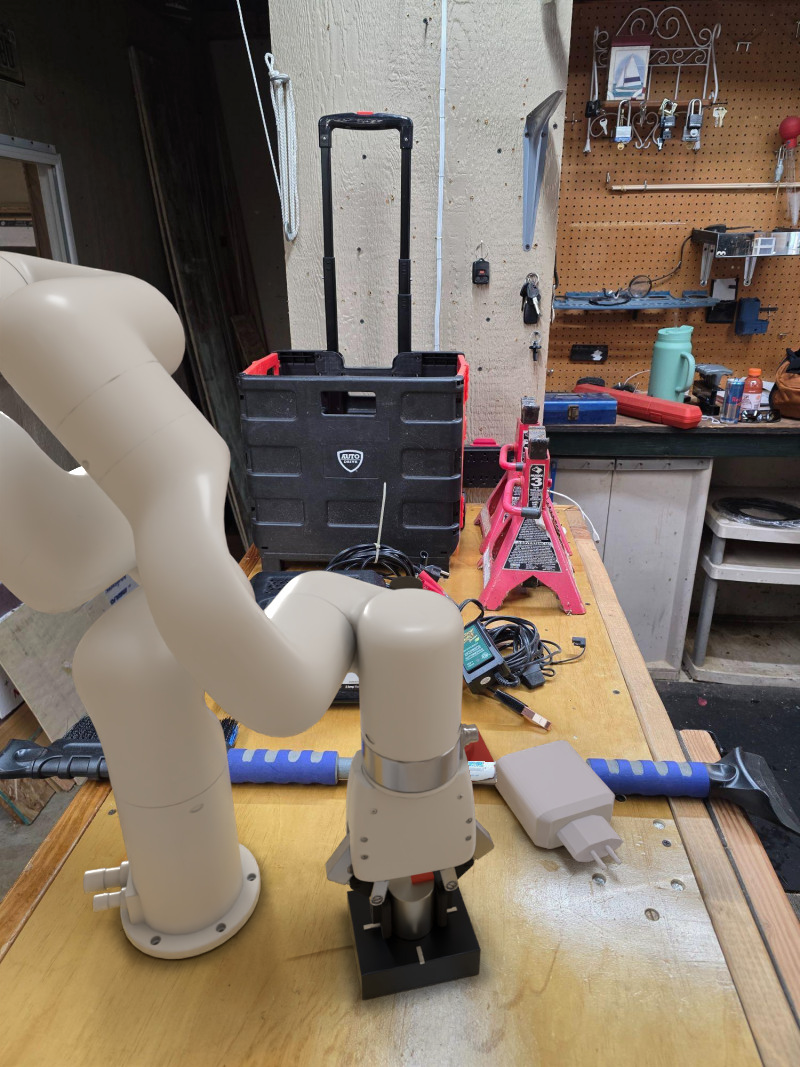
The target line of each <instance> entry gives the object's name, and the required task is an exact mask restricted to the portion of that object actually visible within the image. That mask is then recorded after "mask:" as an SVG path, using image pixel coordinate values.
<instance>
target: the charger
mask: <svg viewBox="0 0 800 1067" xmlns="http://www.w3.org/2000/svg"><path fill="white" fill-rule="evenodd" d="M496 772H497V773H496ZM495 774H497V782H496V784H495V783H494V786H495V788H496V789H497V791H498V793H499V794H500V795H501V797H502V798H503V799H504V801H505V803H506V804H507V806H508V807H509V808H510V810H511V811H512V813H513V814H514V816H515V817H516V819H517V820H518V821H519V823H520V825H521V826H522V828H523V829H524V831H525V832H526V834H527V835H528V837H529V838H530V839H531V841H532V842H533V844H534V845H535V846H537V847H540V848H546V849H548V850H549V849H550V850H552V849H556V848H559V847H562V846H564V847H565V849H566V850H567V852H569V854H570V855H571V857H572V858H573V859H574V860H575V861H577V862H581V863H590V862H593V861H595V863H596V864H597V865H598V866H599V868H600V869H601V870H602V871H606V870H607V869H608V867H607V866H606V864H605V863H604V861H603V860H602V858H605V857H608V856H610V857H611V859H612V860H613V861H614V862H615V864H617V866H621V865H622V863H623V861H622V860H621V859H620V858H619V856H618V855H617V854H616V852H615V851H616V850H618V849H619V848H620V847H621V846H622V845H623V843H624V840H623V838H622V837H621V836H620V835H619V834H618V833H617V832H616V830H615V829H614V828H613V827H612V825H611V823H612V818H613V813H614V812H613V811H614V806H615V798H616V795H615V793H614V792H613V791H612V790H611V789H610V787H608V785H607V784H606V783H605V782H604V781H603V780H602V778H600V776H599V775H598V774H597V773H596V772H595V771H594V769H592V767H591V766H590V765H589V764H588V763H587V762H586V761H585V759H584V758H583V757H582V756H581V754H579V752H578V751H576V749H575V748H574V747H573V746H572V745H571V743H570V742H568V741H567V740H564V739H560V740H554V741H551V742H547V743H544V744H539V745H536V746H532V747H528V748H525V749H522V750H517V751H514V752H510V753H507V754H504V755H503V756H501V757H500V758H498V759H497V761H496V762H495Z"/></svg>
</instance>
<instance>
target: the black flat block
mask: <svg viewBox="0 0 800 1067" xmlns="http://www.w3.org/2000/svg"><path fill="white" fill-rule="evenodd" d="M346 902H347V903H346V904H347V917H348V923H349V928H350V929H349V930H350V935H351V941H352V947H353V952H354V960H355V964H356V969H357V970H356V972H357V976H358V983H359V990H360V996H361V1000H362V1001H366V1000H370V999H374V998H378V997H382V996H383V997H384V996H387V995H392V994H396V993H397V994H398V993H400V992H405V991H409V990H415V989H419V988H423V987H427V986H432V985H436V984H440V983H441V984H442V983H445V982H449V981H455V980H459V979H463V978H468V977H472V976H476V975H480V966H481V952H482V951H481V950H482V949H481V947H480V944H479V941H478V939H477V935H476V933H475V929H474V926H473V924H472V920H471V918H470V915H469V912H468V909H467V906H466V904H465V900H464V897H463V894H462V892H461V888H460V886H459V885H458V887H457V888H456V889H455V890H453V901H452V909H447V926H444V927H440V926H438V925H437V921H436V918H435V914H434V923H433V926H432V928H431V930H430V931H429V933H428V934H426V935H425V936H424V937H422V938H419V939H416V940H407V939H403V938H400V937H398V936H397V935H396V934H394V933H393V931H392V936H390V938H387V939H383V935H382V931H381V926H380V923H378V924H373V922H372V917H371V911H370V899H369V898H368V897H366V896H364V895H362V894H360V893H358V892H356V891H354V890H352V889H351V890H347V891H346Z"/></svg>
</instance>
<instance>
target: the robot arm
mask: <svg viewBox="0 0 800 1067" xmlns="http://www.w3.org/2000/svg"><path fill="white" fill-rule="evenodd" d="M185 349H186V335H185V330H184V327H183V323H182V320H181V319H180V316H179V314H178V313H177V311H176V309H175V307H174V306H173V304H172V303H171V302H170V300H168V298H167V297H166V296H165V295H164V294H163V293H162V292H161V291H160V290H158V289H157V288H156V287H155V286H153V285H152V284H150V283H148V282H147V281H145V280H144V279H141V278H138V277H136V276H134V275H130V274H127V273H122V272H117V271H112V270H106V269H100V268H95V267H89V266H83V265H79V264H74V263H68V262H64V261H63V262H62V261H60V260H59V261H58V260H52V259H49V258H43V257H38V256H33V255H28V254H23V253H18V252H11V251H5V250H0V374H1V376H2V377H3V378H4V380H6V382H7V383H8V384H9V385H10V387H12V388H13V390H14V391H15V392H16V393H17V395H18V396H19V397H20V399H21V400H23V402H24V403H25V404H26V405H27V406H28V408H30V410H31V411H32V412H33V414H35V415H36V417H37V418H38V419H39V420H40V421H41V422H42V423H43V425H44V426H45V427H46V428H47V429H48V430H49V431H50V432H51V434H52V435H53V436H54V438H56V439H57V440H58V442H60V444H61V445H63V447H64V448H65V450H66V451H68V453H69V454H70V455H71V457H73V459H74V460H75V461H76V462H77V463H78V465H80V467H77V468H75V469H73V470H71V471H67V470H65V469H63V468H62V467H60V466H59V464H57V463H56V462H54V460H53V459H52V458H51V457H50V456H49V455H48V454H46V452H45V451H44V450H43V449H42V448H41V447H40V446H39V445H38V444H37V443H36V441H35V440H34V439H33V438H32V436H31V435H30V434H29V433H28V432H27V431H26V430H25V429H24V428H23V427H22V426H21V425H19V424H18V423H17V422H16V421H15V420H14V419H13V418H11V417H10V416H8V415H7V414H6V413H3V411H1V410H0V583H1V584H2V585H3V586H4V587H5V588H6V589H7V590H8V591H9V592H11V594H13V595H14V596H15V597H16V598H17V599H18V600H19V601H21V602H22V603H23V604H25V605H26V607H29V608H31V609H33V611H34V610H35V611H36V612H40V613H43V614H48V615H57V614H63V613H66V612H70V611H72V610H76V609H77V608H79V607H81V606H83V605H84V604H86V603H88V602H89V601H91V600H92V599H94V598H95V597H97V596H99V595H100V594H101V593H103V592H104V591H106V590H107V589H108V588H110V587H112V586H113V585H114V584H115V583H117V582H119V581H120V580H121V579H122V578H124V577H125V576H126V575H128V576H129V577H130V579H132V580H133V581H134V582H135V583H136V584H137V586H136V587H135V588H133V589H132V590H131V591H130V592H129V593H127V594H126V595H125V596H123V597H122V598H121V599H120V600H118V601H117V602H116V603H115V604H113V605H112V606H111V607H110V608H108V609H107V610H106V611H105V612H104V613H103V614H102V615H101V616H99V617H98V618H97V619H96V620H95V621H94V622H93V623H92V625H91V626H90V627H89V628H88V629H87V630H86V632H85V633H84V635H83V636H82V637H81V639H80V640H79V643H78V644H77V646H76V649H75V651H74V654H73V658H72V663H71V676H72V682H73V685H74V687H75V690H76V693H77V695H78V698H79V700H80V701H81V703H82V705H83V707H84V709H85V711H86V713H87V715H88V716H89V718H90V721H91V722H92V723H91V724H92V725H93V727H94V729H95V732H96V734H97V738H98V740H99V742H100V746H101V749H102V752H103V757H104V760H105V765H106V768H107V772H108V776H109V777H108V778H109V782H110V786H111V789H112V793H113V798H114V803H115V808H116V811H117V816H118V821H119V825H120V830H121V835H122V839H123V844H124V848H125V853H126V857H127V860H123V861H121V862H120V865H119V866H114V867H108V868H107V867H100V868H95V869H89V870H85V871H84V874H83V882H82V887H83V893H84V894H85V895H86V894H91V893H98V892H102V893H98V894H94V895H93V898H92V910H93V912H94V913H96V912H101V911H106V910H110V909H114V908H118V907H120V919H121V920H120V921H121V924H122V928H123V931H124V934H125V936H126V938H127V939H128V940H129V942H130V943H131V945H133V946H134V947H135V948H136V949H138V950H139V951H141V952H142V953H144V954H146V955H149V956H151V957H154V958H159V959H165V960H176V959H177V960H179V959H187V958H192V957H196V956H199V955H201V954H205V953H207V952H210V951H212V950H214V949H215V948H217V947H219V946H221V945H223V944H224V943H225V942H227V941H228V940H230V938H232V937H233V936H235V935H236V934H237V933H238V932H239V931H240V930H241V929H242V927H244V925H245V924H246V923H247V922H248V920H249V919H250V917H251V916H252V914H253V913H254V911H255V908H256V906H257V904H258V902H259V898H260V893H261V881H262V880H261V874H260V868H259V864H258V862H257V859H256V857H255V856H254V855H253V853H252V851H250V850H249V848H247V847H246V846H245V845H243V844H241V843H240V841H239V834H238V827H237V820H236V812H235V805H234V804H235V803H234V796H233V788H232V781H231V774H230V766H229V757H228V753H227V746H226V745H227V744H226V738H225V733H224V729H223V726H222V723H221V721H220V719H219V718H218V716H217V714H216V713H215V712H214V711H213V710H212V709H211V708H210V707H209V706H208V704H207V702H206V698H205V697H206V694H207V695H208V696H209V697H210V699H212V700H213V701H214V702H215V704H216V705H217V706H219V707H220V708H221V709H222V710H223V711H224V712H225V713H226V714H227V715H228V716H230V717H231V718H232V719H233V720H235V721H236V722H238V723H240V724H241V725H242V726H243V727H245V728H247V729H249V730H251V731H253V732H255V733H257V734H260V735H262V736H263V735H264V736H267V737H270V738H282V739H283V738H289V737H295V736H298V735H300V734H303V733H305V732H307V731H308V730H310V729H312V728H313V727H314V726H315V725H317V724H318V723H319V722H320V720H321V719H322V718H323V717H324V716H325V714H326V713H327V711H328V710H329V708H330V706H331V705H332V703H333V701H334V700H335V698H336V696H337V694H338V692H339V691H340V689H341V687H342V685H343V683H344V681H345V679H346V677H347V675H348V674H350V673H352V674H354V675H356V677H357V678H358V690H359V691H358V698H359V700H358V701H359V723H360V748H361V749H358V750H357V751H356V752H355V753H354V754H353V756H352V758H351V762H350V765H349V770H348V777H347V785H346V797H345V798H346V799H345V836H344V838H343V839H342V840H341V842H340V843H339V845H338V846H337V847H336V849H335V850H334V851H333V852H332V854H331V855H330V856H329V858H328V859H327V861H326V862H325V864H324V866H325V873H326V874H325V875H326V879H327V880H328V881H330V882H332V883H336V884H340V885H342V886H347V885H348V886H349V887H350V889H351V890H354V891H356V892H358V893H360V894H362V895H364V896H366V897H368V898H369V899H370V911H371V917H372V922H373V924H378V923H380V926H381V931H382V935H383V939H387V938H390V936H392V928H391V903H390V898H389V894H388V890H387V888H388V884H389V880H390V879H395V878H400V877H406V876H411V875H416V874H421V873H427V872H433V874H434V880H435V893H434V914H435V918H436V921H437V925H438V926H440V927H444V926H447V909H452V901H453V890H455V889H456V888H457V887H458V886H459V881H458V880H459V879H461V878H462V877H463V876H464V875H465V874H466V873H467V872H468V871H469V870H470V869H472V867H473V866H474V865H475V861H479V860H480V859H482V858H483V857H484V856H486V855H487V854H489V853H490V852H491V851H493V850H494V849H495V843H494V841H493V839H492V837H491V834H490V832H489V831H488V830H487V829H486V828H485V827H484V826H483V825H482V824H481V823H480V821H478V819H476V808H475V807H476V806H475V796H474V788H473V787H474V786H473V782H472V780H471V775H470V770H469V765H468V761H467V757H466V754H465V750H464V748H465V746H466V745H469V744H470V743H472V742H478V740H479V734H478V730H479V728H478V726H477V725H476V724H475V723H472V724H467V723H462V712H463V710H462V709H463V708H462V707H463V685H464V684H463V683H464V682H463V681H464V654H465V652H464V651H465V624H464V619H463V616H462V613H461V611H460V609H459V608H458V606H457V605H456V604H455V602H453V601H452V600H451V599H450V598H448V597H447V596H445V595H442V594H441V593H438V592H436V591H432V590H429V589H424V588H423V589H397V590H391V589H389V588H387V587H383V586H379V585H376V584H373V583H370V582H367V581H364V580H360V579H358V578H354V577H351V576H348V575H344V574H341V573H338V572H333V571H327V570H310V571H306V572H303V573H300V574H298V575H296V576H295V577H293V578H292V579H291V580H289V581H288V583H286V584H285V585H284V586H283V588H281V590H280V591H279V592H278V593H277V595H276V596H275V597H274V598H273V599H272V600H271V602H270V603H269V604H268V605H267V606H266V607H265V608H264V609H262V607H261V606H260V605H259V604H258V603H257V601H256V595H255V591H254V588H253V585H252V583H251V581H250V579H249V578H248V576H247V575H246V573H245V571H244V570H243V569H242V567H241V566H240V564H239V563H238V561H236V559H235V558H234V557H233V556H232V555H231V553H230V550H229V547H228V543H227V536H226V532H225V505H226V504H225V503H226V497H227V491H228V490H227V489H228V483H229V478H230V477H229V476H230V470H231V460H232V459H231V452H230V449H229V446H228V445H227V442H226V440H224V438H223V437H222V435H221V434H219V433H218V431H217V430H216V429H215V428H214V427H213V426H212V424H211V423H210V422H209V420H207V419H206V417H205V416H204V415H203V413H202V412H201V411H200V410H199V408H197V406H196V405H195V404H194V403H193V401H191V399H190V398H189V397H188V395H187V394H186V393H185V391H183V390H182V388H181V387H180V386H179V384H178V383H177V382H176V381H175V380H174V378H173V377H172V375H173V374H175V372H176V371H177V370H178V369H179V367H180V365H181V363H182V361H183V358H184V355H185V351H186V350H185ZM477 728H478V729H477ZM119 887H120V890H119V891H114V892H113V891H112V892H109V891H108V892H104V891H107V890H108V889H115V888H119Z"/></svg>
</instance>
